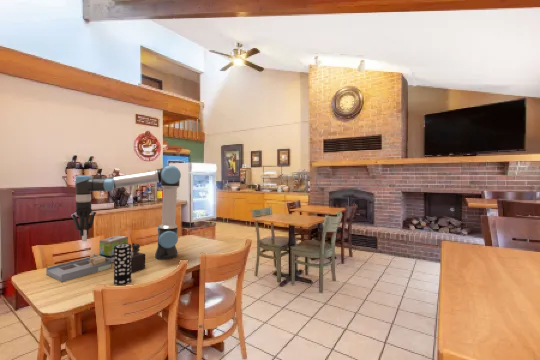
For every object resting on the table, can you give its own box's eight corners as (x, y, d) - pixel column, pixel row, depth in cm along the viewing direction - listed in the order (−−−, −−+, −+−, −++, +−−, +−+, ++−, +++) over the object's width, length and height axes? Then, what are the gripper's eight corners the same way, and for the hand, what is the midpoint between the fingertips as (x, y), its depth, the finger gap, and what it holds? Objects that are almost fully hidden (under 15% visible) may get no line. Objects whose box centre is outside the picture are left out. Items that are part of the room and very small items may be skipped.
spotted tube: (110, 283, 144) (110, 247, 143) (123, 278, 152) (123, 243, 151) (121, 286, 141) (121, 248, 141) (134, 280, 149) (134, 244, 148)
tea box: (111, 263, 175) (111, 241, 175) (98, 262, 177) (98, 240, 177) (128, 256, 190) (128, 235, 190) (116, 255, 192) (116, 235, 192)
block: (105, 263, 167) (105, 257, 167) (94, 266, 162) (94, 260, 162) (100, 262, 170) (100, 255, 170) (90, 264, 165) (89, 258, 165)
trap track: (110, 267, 167) (110, 259, 167) (61, 282, 145) (61, 272, 145) (94, 261, 178) (94, 253, 178) (46, 274, 156) (46, 265, 155)
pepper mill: (118, 270, 163) (118, 241, 162) (135, 265, 173) (135, 237, 172) (135, 275, 156) (135, 245, 155) (151, 269, 165) (151, 240, 165)
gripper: (92, 200, 166) (93, 237, 167) (67, 202, 155) (68, 242, 156) (98, 200, 162) (99, 239, 163) (74, 203, 151) (74, 244, 152)
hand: (84, 240), depth 159 cm, fingers closed
